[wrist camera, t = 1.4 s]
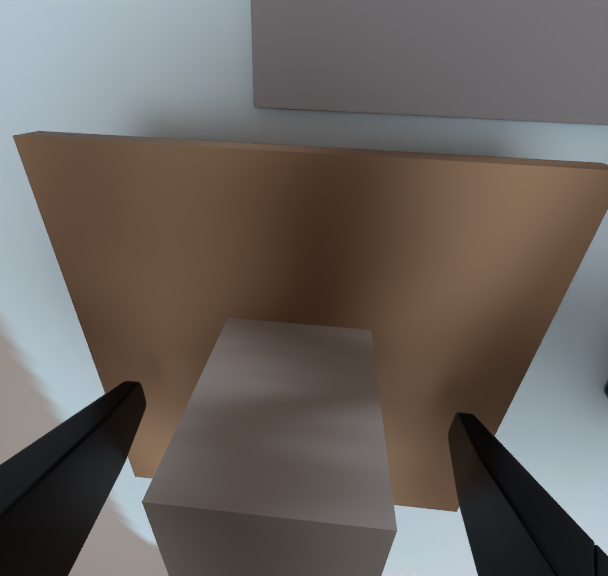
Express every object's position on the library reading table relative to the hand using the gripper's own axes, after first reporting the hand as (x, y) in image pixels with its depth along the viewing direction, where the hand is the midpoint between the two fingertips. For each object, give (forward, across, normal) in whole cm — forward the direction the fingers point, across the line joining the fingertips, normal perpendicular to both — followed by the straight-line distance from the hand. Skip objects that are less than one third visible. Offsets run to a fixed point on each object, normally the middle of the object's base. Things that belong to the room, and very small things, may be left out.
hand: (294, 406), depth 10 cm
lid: (+2, 0, 0) cm, 2 cm away
